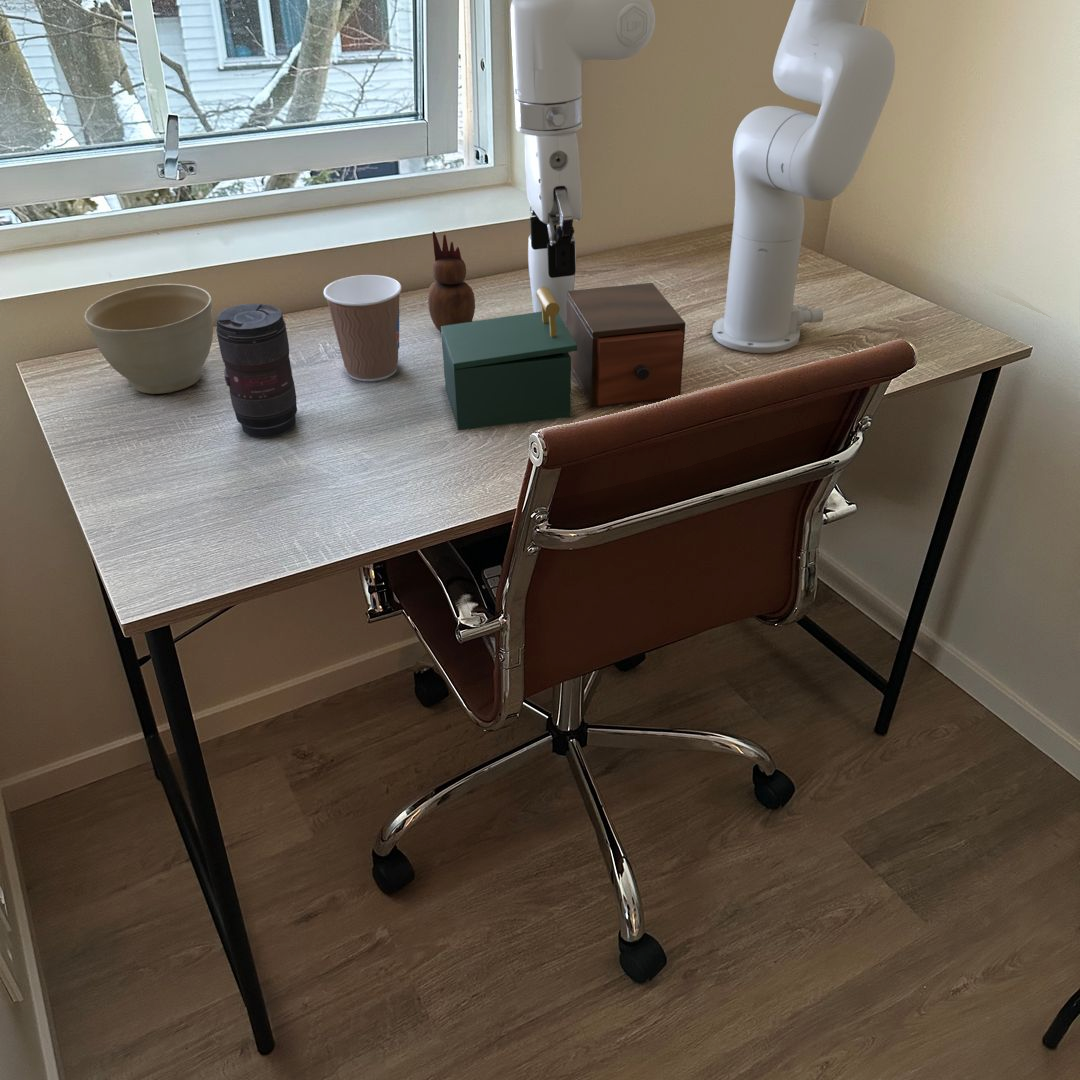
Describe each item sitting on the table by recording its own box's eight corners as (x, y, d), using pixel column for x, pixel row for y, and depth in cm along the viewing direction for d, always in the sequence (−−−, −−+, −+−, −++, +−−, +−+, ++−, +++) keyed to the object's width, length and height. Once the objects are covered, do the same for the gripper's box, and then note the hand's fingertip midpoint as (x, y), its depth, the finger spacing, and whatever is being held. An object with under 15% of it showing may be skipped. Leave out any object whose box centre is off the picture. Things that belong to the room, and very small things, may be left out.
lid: (556, 314, 135) (554, 275, 132) (577, 350, 126) (575, 309, 122) (441, 331, 133) (436, 292, 130) (454, 369, 123) (448, 328, 120)
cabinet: (680, 398, 135) (685, 322, 128) (591, 408, 133) (592, 332, 126) (648, 353, 146) (652, 282, 140) (566, 362, 144) (566, 290, 138)
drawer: (682, 400, 132) (686, 337, 127) (600, 410, 130) (602, 346, 125) (649, 355, 143) (652, 295, 138) (574, 363, 142) (574, 302, 137)
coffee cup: (423, 373, 142) (415, 290, 135) (357, 394, 137) (346, 309, 130) (385, 348, 148) (376, 268, 142) (321, 368, 143) (309, 286, 137)
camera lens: (270, 447, 125) (248, 334, 117) (223, 431, 129) (199, 319, 120) (315, 420, 131) (297, 310, 122) (269, 405, 134) (248, 297, 126)
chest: (551, 378, 140) (550, 321, 135) (570, 417, 131) (571, 357, 126) (445, 389, 138) (441, 332, 133) (458, 430, 128) (453, 370, 123)
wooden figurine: (424, 334, 152) (415, 235, 144) (441, 320, 157) (434, 222, 148) (465, 341, 150) (459, 240, 142) (481, 326, 155) (476, 227, 146)
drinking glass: (571, 348, 148) (571, 246, 139) (525, 344, 149) (523, 243, 140) (579, 329, 153) (580, 230, 144) (535, 326, 154) (533, 227, 146)
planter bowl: (222, 348, 150) (207, 276, 143) (231, 395, 137) (214, 319, 131) (106, 364, 146) (85, 291, 139) (104, 415, 133) (81, 337, 127)
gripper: (600, 129, 108) (600, 284, 118) (563, 94, 122) (566, 234, 132) (531, 136, 107) (537, 291, 117) (501, 99, 121) (509, 241, 131)
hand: (552, 261), depth 125 cm, fingers open, 9 cm apart
